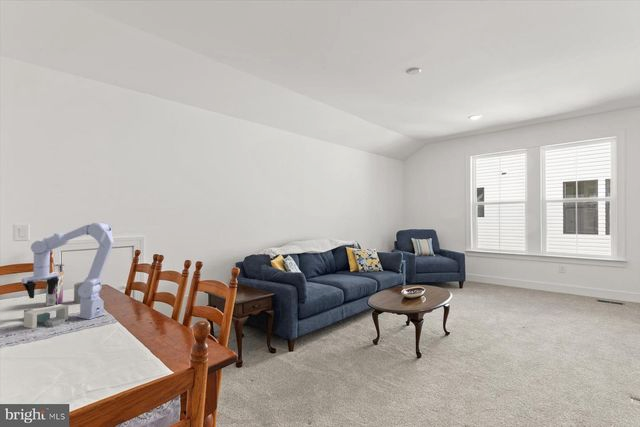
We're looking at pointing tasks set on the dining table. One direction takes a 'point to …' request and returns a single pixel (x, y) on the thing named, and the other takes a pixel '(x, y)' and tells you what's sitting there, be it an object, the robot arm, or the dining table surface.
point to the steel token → (54, 321)
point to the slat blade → (41, 316)
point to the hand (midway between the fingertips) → (41, 296)
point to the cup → (76, 295)
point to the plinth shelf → (31, 316)
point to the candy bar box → (55, 291)
